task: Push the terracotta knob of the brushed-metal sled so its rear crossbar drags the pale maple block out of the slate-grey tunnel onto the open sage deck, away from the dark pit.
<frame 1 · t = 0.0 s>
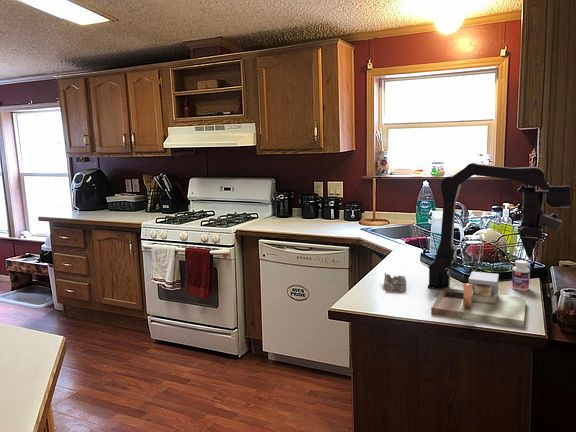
hand: (529, 253, 150), 15 cm above the countertop, fingers open, 9 cm apart
pill bottle: (520, 289, 162), on the countertop
sled: (480, 290, 142), point 6 cm above the countertop, slide at 0.0 cm
maple block: (482, 298, 147), point 2 cm above the countertop, touching deck
tunnel: (482, 304, 147), resting on deck
deck: (479, 308, 144), on the countertop
grey stone castle ruin: (395, 287, 168), on the countertop
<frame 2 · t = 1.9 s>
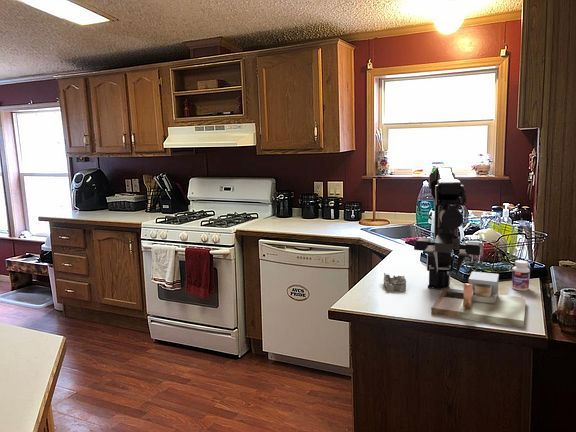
hand: (446, 273, 140), 12 cm above the countertop, fingers open, 6 cm apart
nothing on the countertop moved.
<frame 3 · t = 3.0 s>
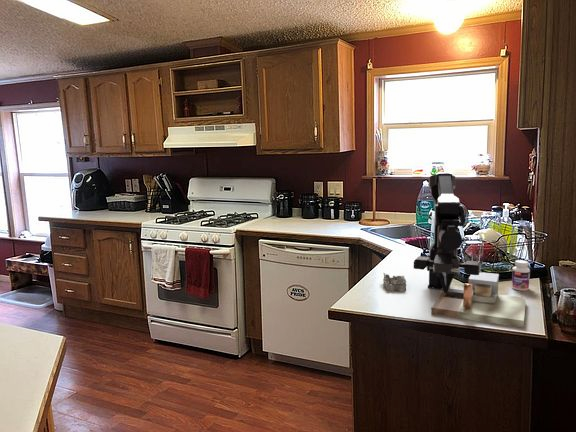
hand: (445, 292, 141), 6 cm above the countertop, fingers closed
nothing on the countertop moved.
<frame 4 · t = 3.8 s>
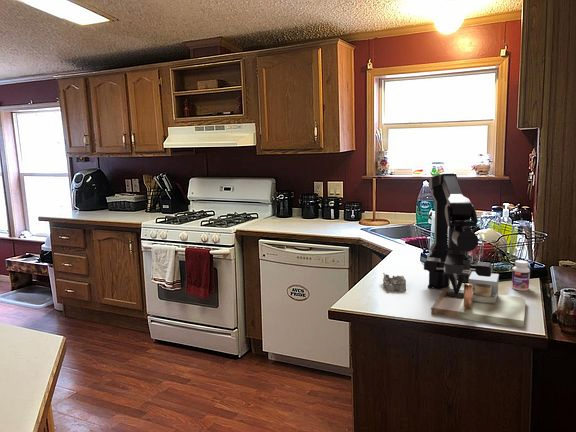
hand: (456, 294, 139), 6 cm above the countertop, fingers closed
sled: (480, 290, 142), point 6 cm above the countertop, slide at 0.1 cm, touching gripper
everything else where it was.
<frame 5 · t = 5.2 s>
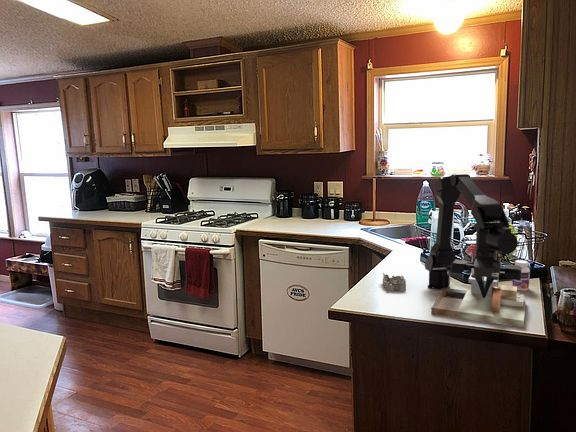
hand: (484, 297, 136), 6 cm above the countertop, fingers closed
sled: (508, 294, 138), point 6 cm above the countertop, slide at 7.7 cm, touching gripper, maple block
maple block: (507, 301, 143), point 2 cm above the countertop, touching deck, sled
everything else where it was.
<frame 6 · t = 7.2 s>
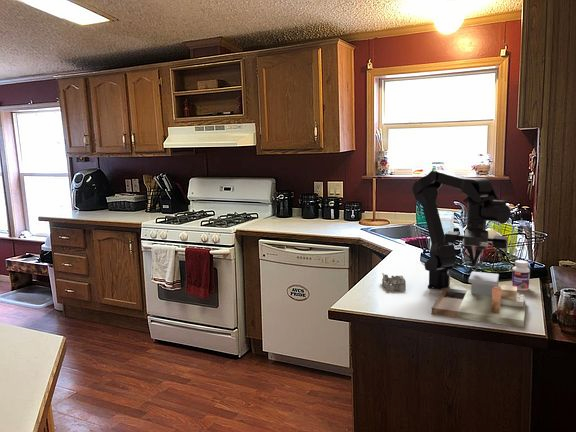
hand: (474, 265, 150), 12 cm above the countertop, fingers closed
sled: (508, 294, 138), point 6 cm above the countertop, slide at 7.8 cm
maple block: (508, 301, 143), point 2 cm above the countertop, touching deck
everything else where it was.
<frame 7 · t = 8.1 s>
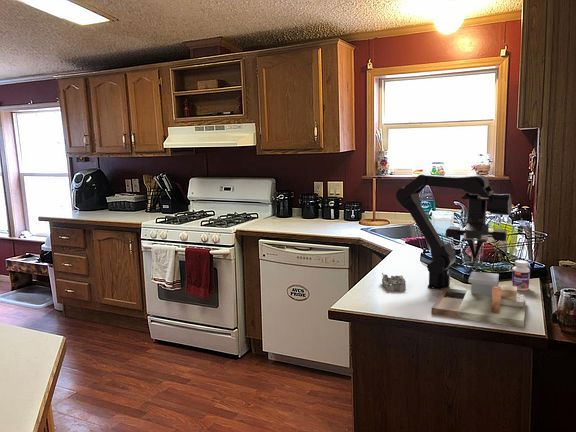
hand: (474, 258, 157), 12 cm above the countertop, fingers closed
nothing on the countertop moved.
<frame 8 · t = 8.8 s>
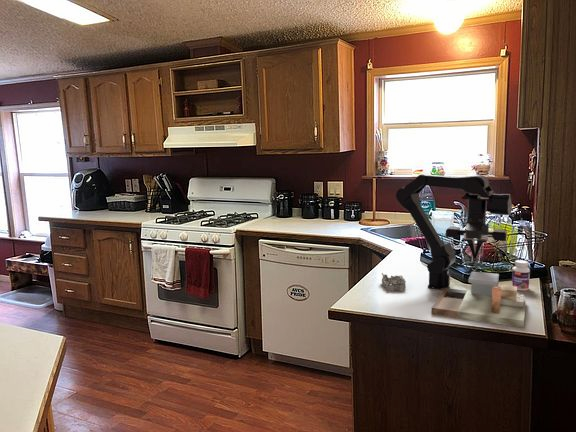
hand: (474, 258, 157), 12 cm above the countertop, fingers closed
nothing on the countertop moved.
at the end: maple block inside the target area (1.4 cm from its centre), point 2.0 cm above the countertop; maple block tilted 0°; sled slide at 7.8 cm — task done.
